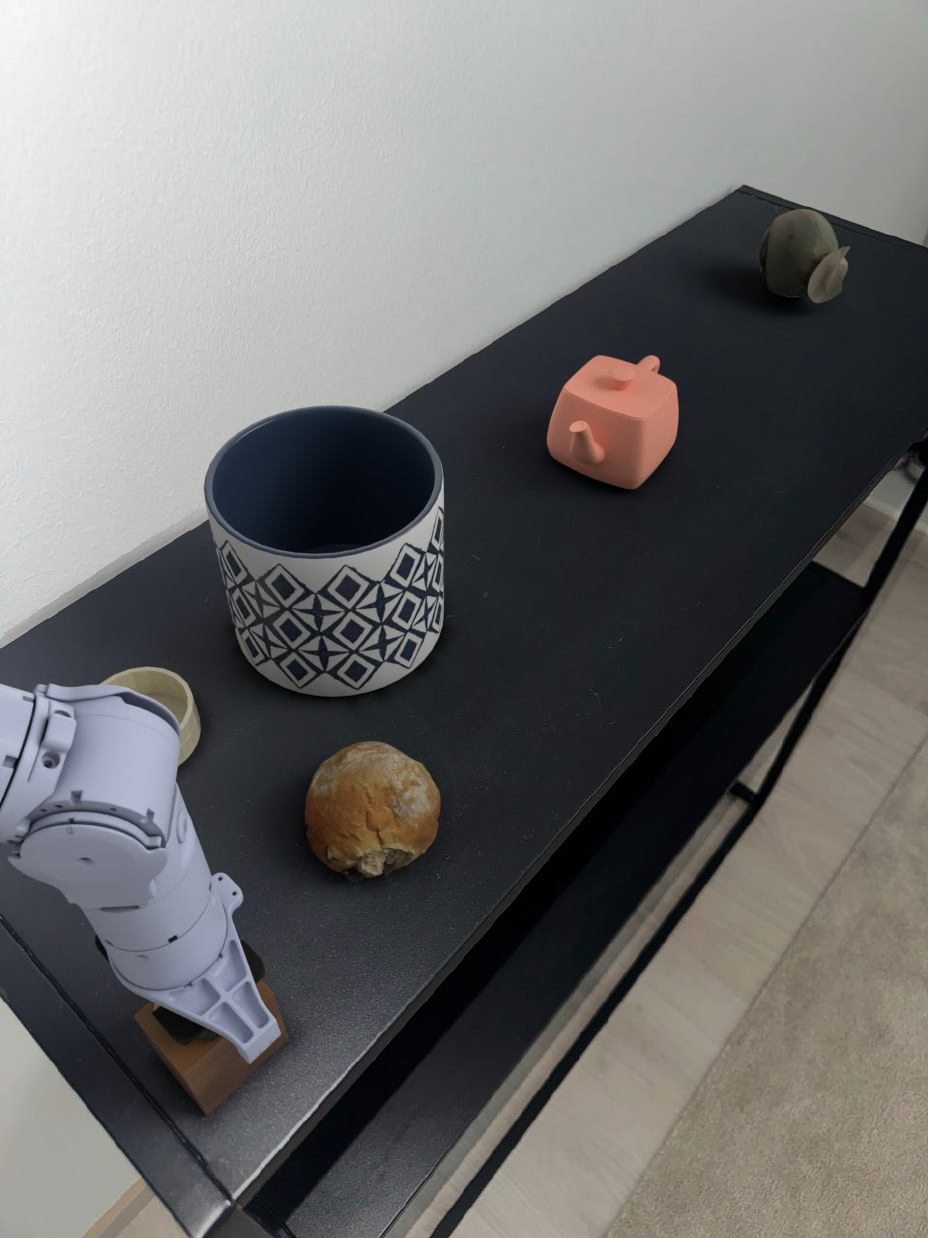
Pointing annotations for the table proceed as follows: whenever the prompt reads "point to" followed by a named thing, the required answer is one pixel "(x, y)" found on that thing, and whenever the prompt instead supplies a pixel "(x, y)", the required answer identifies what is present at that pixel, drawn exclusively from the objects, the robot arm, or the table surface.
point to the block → (208, 1057)
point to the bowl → (165, 699)
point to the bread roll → (371, 810)
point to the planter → (330, 546)
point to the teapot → (615, 421)
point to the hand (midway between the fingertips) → (202, 1002)
